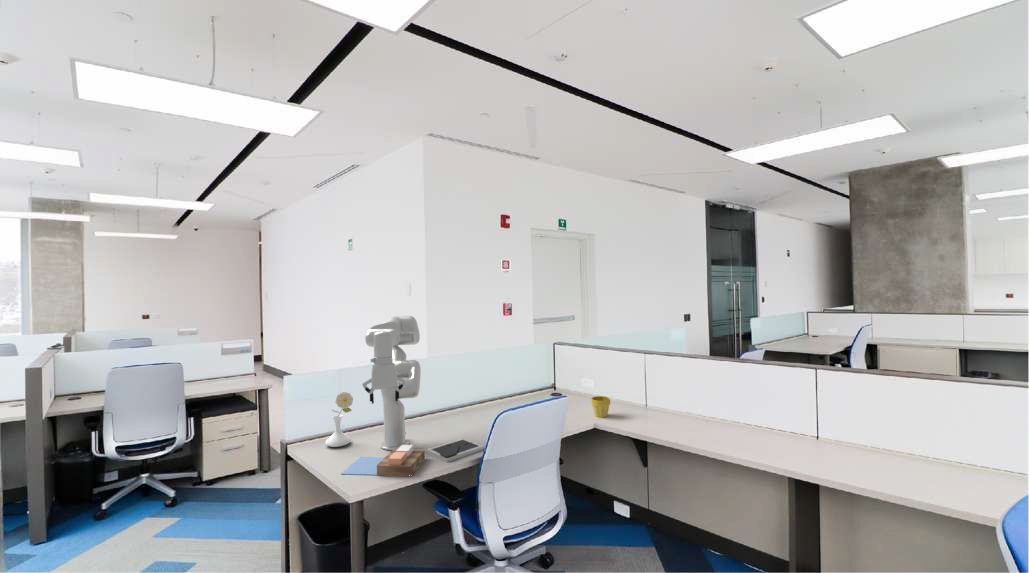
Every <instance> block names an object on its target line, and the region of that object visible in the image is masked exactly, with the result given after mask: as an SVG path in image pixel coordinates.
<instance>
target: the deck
mask: <svg viewBox="0 0 1029 573" xmlns="http://www.w3.org/2000/svg"><path fill="white" fill-rule="evenodd" d="M396 450H397V449H393V450H390V452H388V454H387V455H385V456H384V457H385V458H384V459H383V460H382V461H381V462H380V463H379V464H378V465H377V475H376V476H382V475H401V476H400V477H412V476H413V475H414V473H415V472H416V471H417V470H418V468H419V467H420V466H419V465H422V463H423V462H424V461H425V459H426V454H425V453H426V450H425V449H413V452H412V453H411V454H410V455H409V456H408V457H407V458H406V460H405V461H404V462H403V463H402V464H401V465H389V462H388V458H389V457H390V456H391V455H392V454H393V453H394V452H396ZM423 460H424V461H423ZM418 466H419V467H418ZM415 470H416V471H415ZM414 471H415V472H414ZM412 474H413V475H412ZM409 475H410V476H409ZM411 475H412V476H411Z"/></svg>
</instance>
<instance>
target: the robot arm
mask: <svg viewBox="0 0 1029 573" xmlns="http://www.w3.org/2000/svg"><path fill="white" fill-rule="evenodd" d="M419 329H420V328H419V325H418V322H417V319H416V318H415V317H414V316H413V315H399V316H398V315H396V316H391V317H389V318H388V319H387V320H386V322H382V323H379V324H375V325H373V326H370V327H369V328H368V329H367V331H366V332H365V337H364V338H365V339H364V340H365V343H366V345H367V346H368V347H373V358H370V363H373V364H372V367H371V378H369V379H367V380H366V381H364V382H362V383H361V385H362V387H363V388H364V390H365V391H366V393H368V394H369V402H371V404H372V405H373V404H374V402H375V401H374V399H375V398H374V391H376V390H377V391H378V390H380V393H381V396H382V397H381V398H382V406H383V407H382V408H383V433H384V434H383V435H384V436H383V440H384V441H383V442H381V444H380V448H381V449H383V450H385V451H392V450H393V449H398V448H399V447H400V446H401V445H410V441H409V440H408V439H406V435H407V432H406V421H405V420H406V418H405V412H406V411H405V406H404V403H402V401H401V399H414V398H417V397H418V396H419V394H420V387H421V386H420V385H421V373H422V372H421V364H420V362H419V361H417V360H416V359H407V354H406V352H405V351H404V349H402V348H401V346H407V345H408V346H410V345H417V344H419V342H420V338H421V337H420V336H421V335H420V330H419ZM370 383H371V388H369V387H368V385H370Z"/></svg>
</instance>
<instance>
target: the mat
mask: <svg viewBox="0 0 1029 573" xmlns="http://www.w3.org/2000/svg"><path fill="white" fill-rule="evenodd" d="M385 457H386V456H383V457H382V456H359V458H358V459H357V460H355V461H354V462H353V463H351V464H350V465H349V466H348V467H347V468H346V469H345V470H344V471H343V472H341V475H347V474H348V475H347V476H349V475H351V476H378V475H377V465H378V464H379V463H380V462H381V461H382V460H383V459H384V458H385Z"/></svg>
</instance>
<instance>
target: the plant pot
mask: <svg viewBox="0 0 1029 573" xmlns="http://www.w3.org/2000/svg"><path fill="white" fill-rule="evenodd" d="M590 403H591V406H592V409H593V413H594V417H596V418H606V417H608V414H609V407H610V406H611V398H610V397H608V396H606V395H605V396H604V395H597V396H596V395H595V396H592V397H591V399H590Z"/></svg>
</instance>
